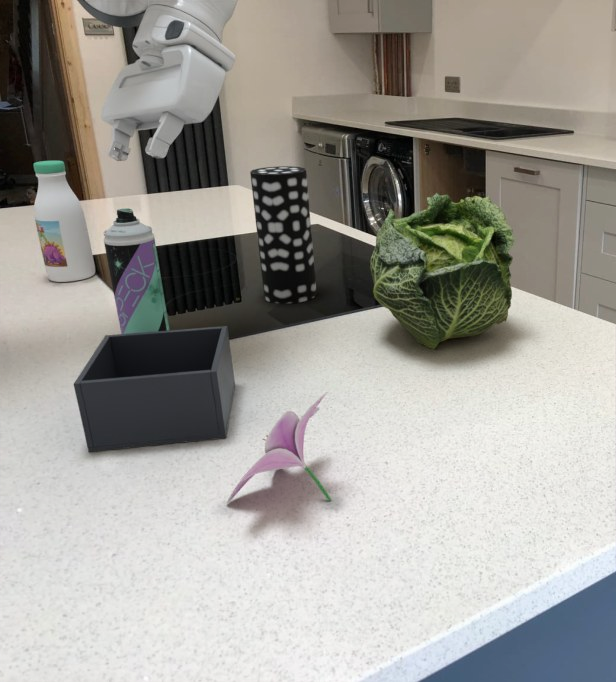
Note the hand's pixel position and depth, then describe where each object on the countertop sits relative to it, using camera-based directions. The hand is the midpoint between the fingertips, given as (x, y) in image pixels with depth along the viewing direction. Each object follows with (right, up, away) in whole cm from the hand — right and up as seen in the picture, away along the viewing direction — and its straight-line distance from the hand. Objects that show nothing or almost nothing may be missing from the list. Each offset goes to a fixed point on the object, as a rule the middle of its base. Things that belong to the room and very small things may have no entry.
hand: (134, 157), depth 85 cm
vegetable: (+35, -20, +18) cm, 45 cm away
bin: (+6, -29, -4) cm, 30 cm away
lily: (+22, -35, -18) cm, 45 cm away
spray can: (-1, -25, +8) cm, 26 cm away
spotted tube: (+10, -14, +34) cm, 38 cm away
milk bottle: (-31, -10, +46) cm, 56 cm away
